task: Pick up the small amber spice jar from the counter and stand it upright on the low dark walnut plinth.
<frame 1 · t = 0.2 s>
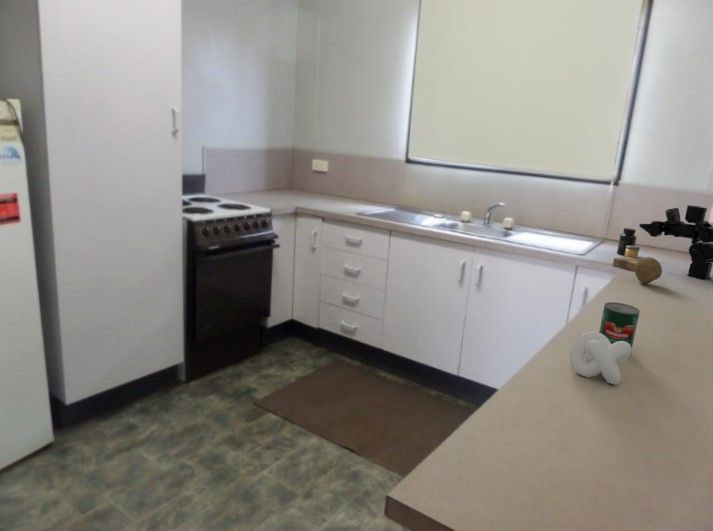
hand: (645, 224, 236), 16 cm above the worktop, tool horizontal, fingers open, 9 cm apart
canned tomato: (613, 350, 136), on the worktop
supplement bottle: (624, 255, 253), on the worktop
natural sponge: (645, 284, 203), on the worktop
white knot sculpture: (598, 379, 119), on the worktop
spice jar: (629, 263, 236), on the worktop
walnut plinth: (630, 267, 228), on the worktop
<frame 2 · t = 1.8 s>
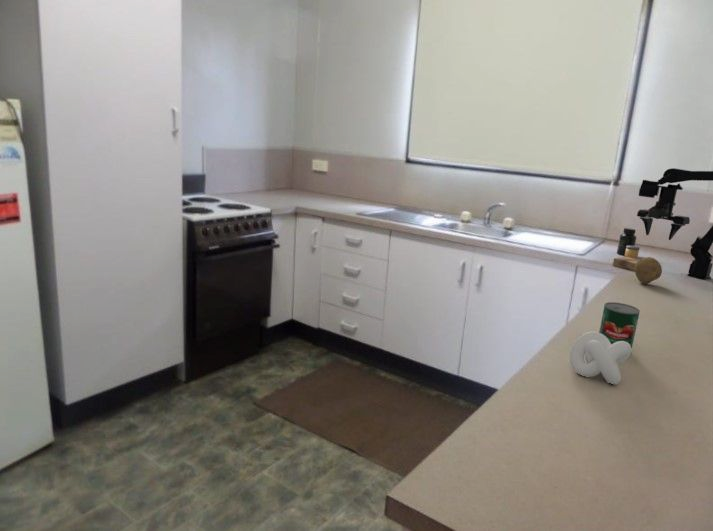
hand: (658, 237, 226), 13 cm above the worktop, tool pointing down, fingers open, 9 cm apart
nothing on the worktop moved.
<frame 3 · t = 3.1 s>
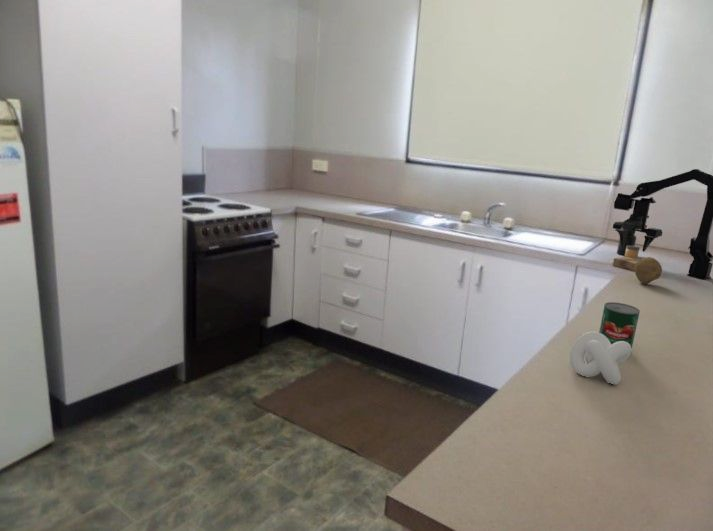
hand: (632, 248, 234), 6 cm above the worktop, tool pointing down, fingers open, 9 cm apart
nothing on the worktop moved.
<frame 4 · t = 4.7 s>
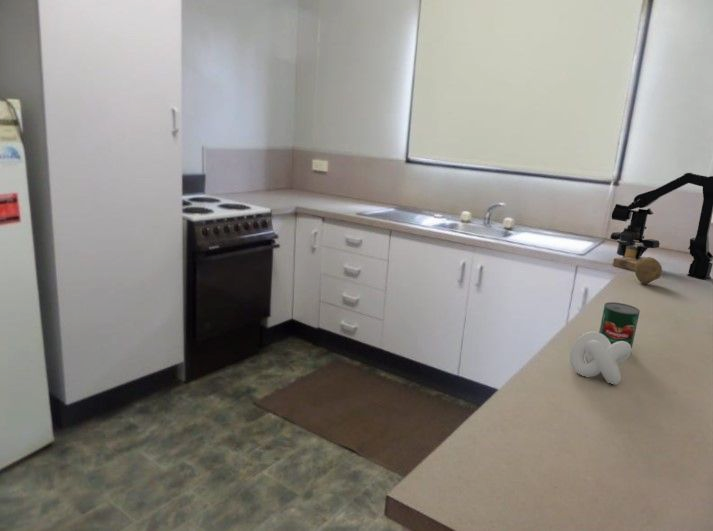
hand: (630, 259, 236), 2 cm above the worktop, tool pointing down, fingers closed on spice jar, 5 cm apart
spice jar: (629, 263, 236), on the worktop, touching gripper
everything else where it was.
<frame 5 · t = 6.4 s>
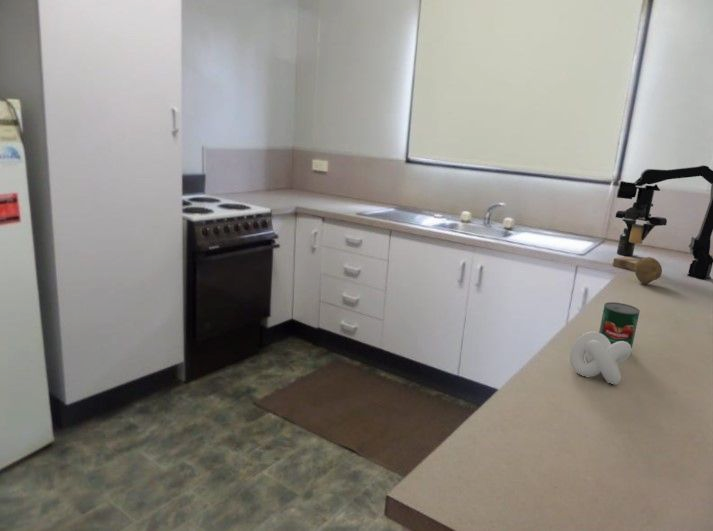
hand: (636, 238, 226), 12 cm above the worktop, tool pointing down, fingers closed on spice jar, 5 cm apart
spice jar: (635, 242, 226), point 10 cm above the worktop, touching gripper
everything else where it was.
when the fingers open (6 cm above the worktop, at t = 8.5 s): spice jar stays where it is, resting on walnut plinth.
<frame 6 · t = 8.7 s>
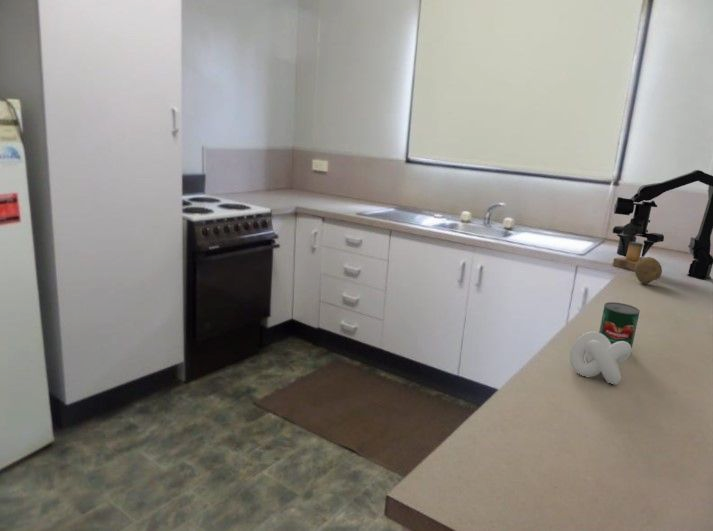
hand: (633, 254, 226), 6 cm above the worktop, tool pointing down, fingers open, 7 cm apart
spice jar: (632, 260, 227), point 3 cm above the worktop, touching walnut plinth
everything else where it was.
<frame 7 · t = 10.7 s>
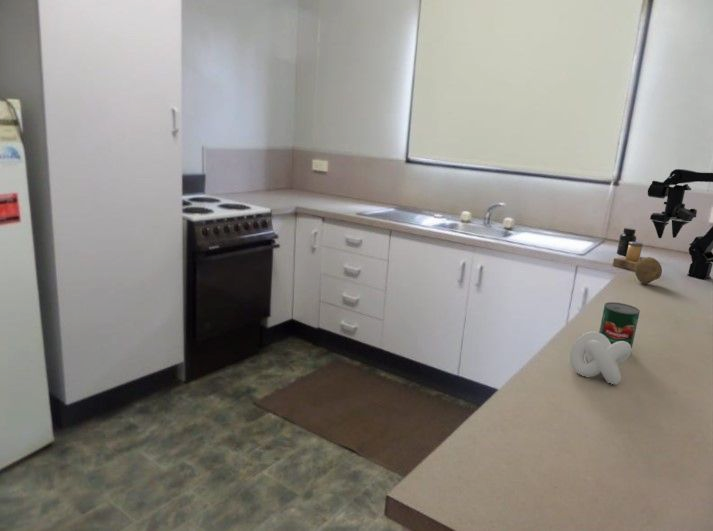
hand: (667, 237, 229), 13 cm above the worktop, tool pointing down, fingers open, 9 cm apart
nothing on the worktop moved.
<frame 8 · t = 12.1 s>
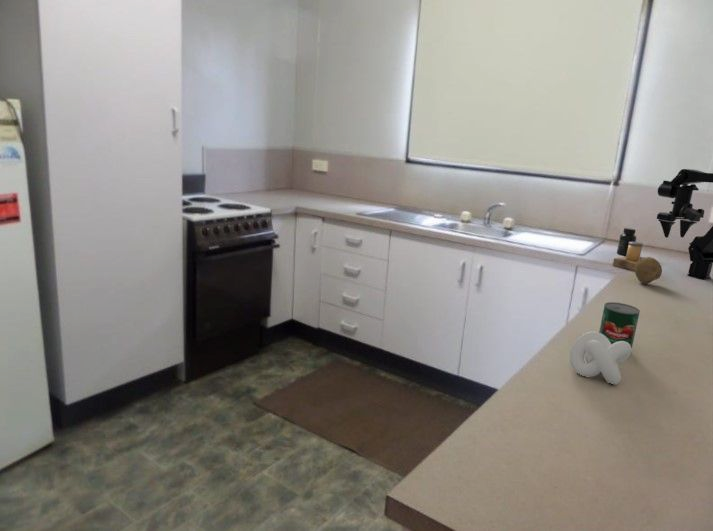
hand: (674, 237, 230), 13 cm above the worktop, tool pointing down, fingers open, 9 cm apart
nothing on the worktop moved.
at the end: spice jar inside the target area on the walnut plinth (0.0 cm from its centre), point 3.1 cm above the walnut plinth's base; spice jar tilted 0°; the gripper is holding nothing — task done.
